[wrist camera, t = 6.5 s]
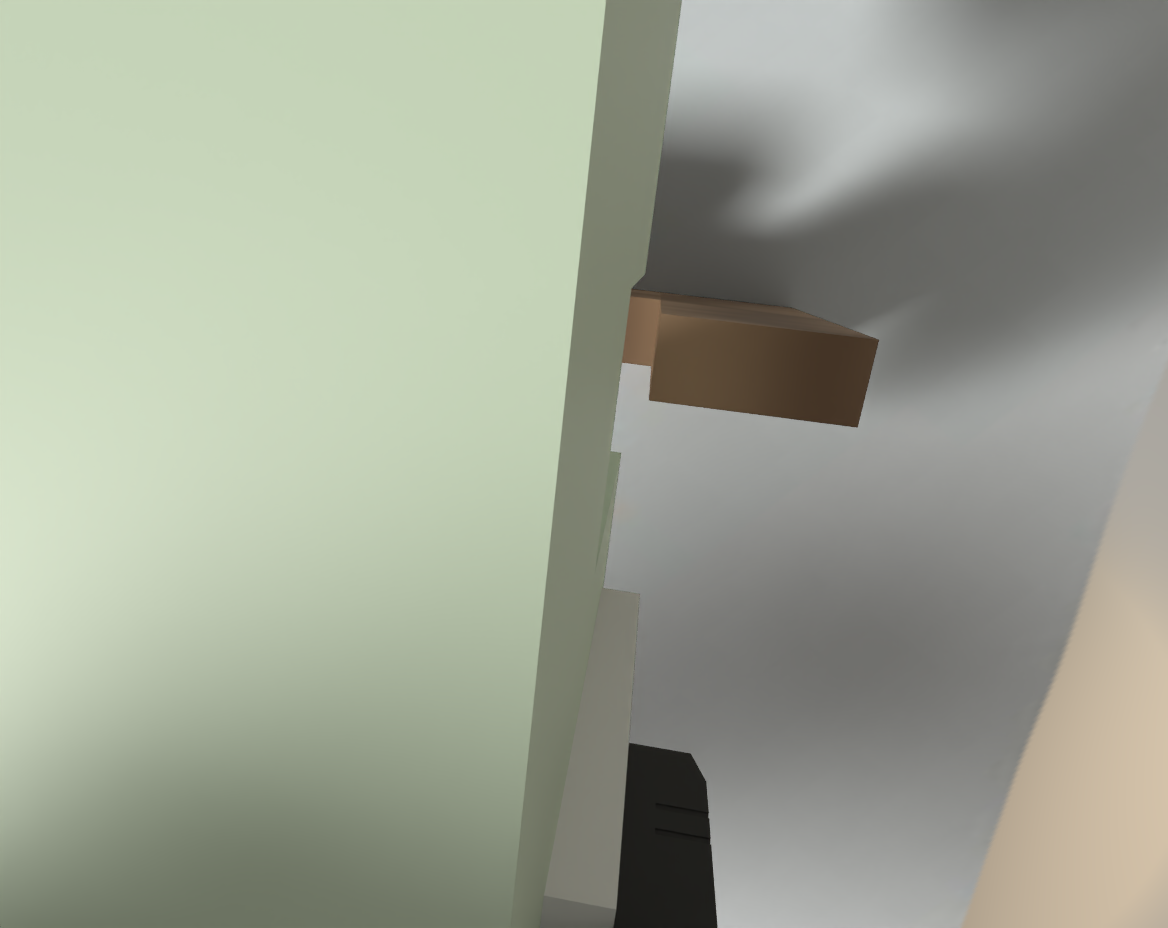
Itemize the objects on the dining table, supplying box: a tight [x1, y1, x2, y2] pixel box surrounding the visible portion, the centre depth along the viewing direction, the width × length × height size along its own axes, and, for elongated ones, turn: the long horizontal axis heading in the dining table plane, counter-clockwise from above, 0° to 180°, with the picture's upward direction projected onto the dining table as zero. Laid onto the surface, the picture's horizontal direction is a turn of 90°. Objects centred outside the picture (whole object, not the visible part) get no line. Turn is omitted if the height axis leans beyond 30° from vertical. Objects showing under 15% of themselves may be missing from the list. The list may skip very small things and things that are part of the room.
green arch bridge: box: [0, 0, 682, 928], centre depth 8 cm, size 3×16×10 cm, turn 174°
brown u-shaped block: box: [622, 289, 879, 427], centre depth 20 cm, size 14×2×10 cm, turn 84°
